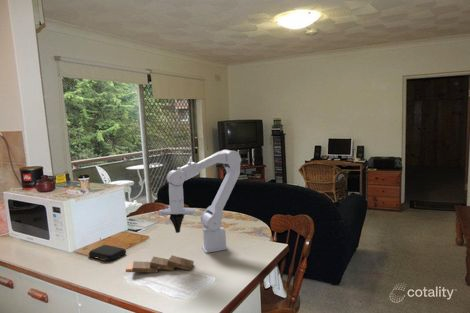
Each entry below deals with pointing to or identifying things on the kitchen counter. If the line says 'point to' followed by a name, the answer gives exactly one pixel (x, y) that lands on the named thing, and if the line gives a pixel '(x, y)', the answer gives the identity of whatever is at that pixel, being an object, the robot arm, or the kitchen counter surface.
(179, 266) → the domino
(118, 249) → the carrying case or bag
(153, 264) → the domino
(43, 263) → the kitchen counter surface
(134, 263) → the domino
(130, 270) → the end domino
